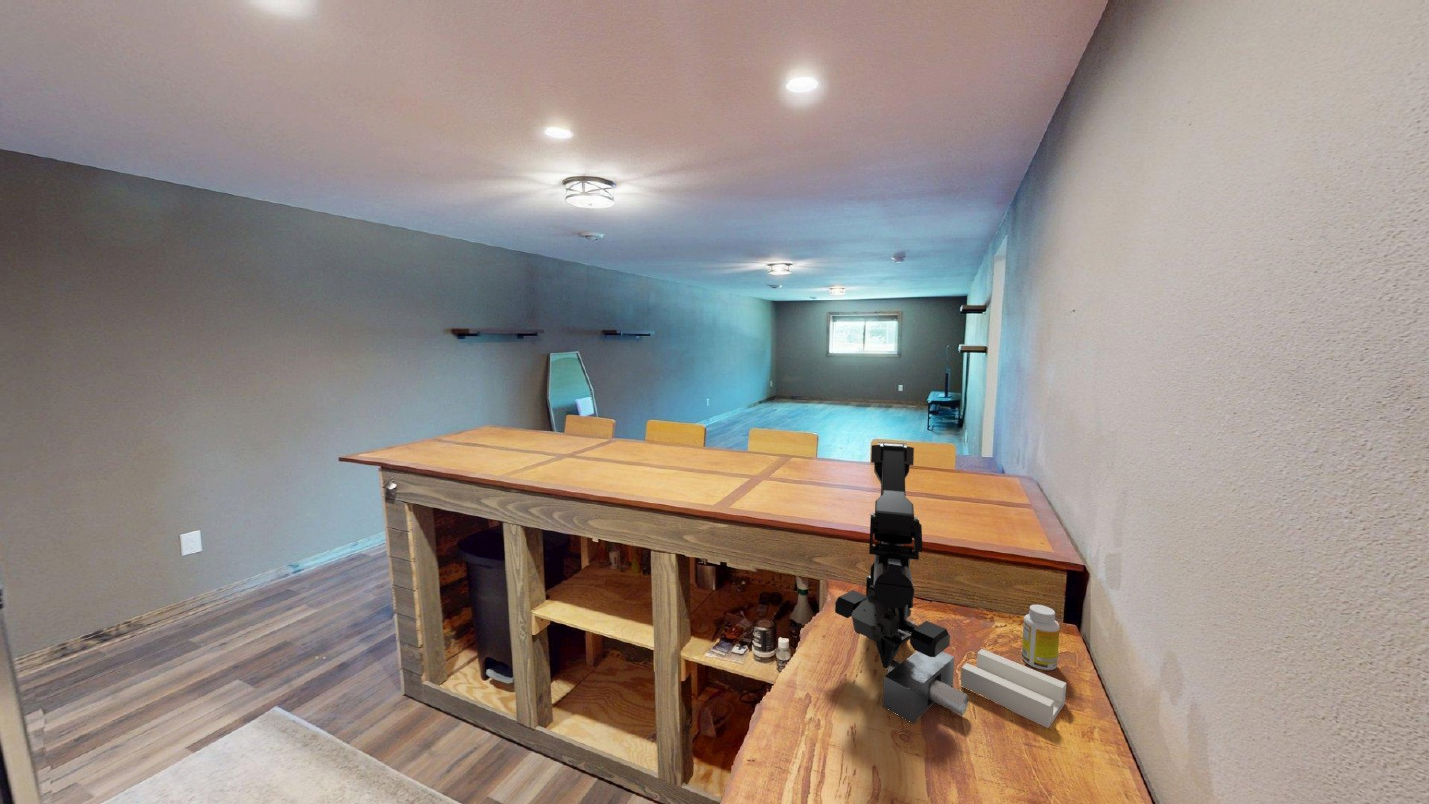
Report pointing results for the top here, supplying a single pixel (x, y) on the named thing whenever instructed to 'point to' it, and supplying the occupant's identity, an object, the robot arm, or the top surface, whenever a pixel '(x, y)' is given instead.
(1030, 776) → the top surface
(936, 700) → the axle
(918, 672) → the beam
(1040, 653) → the supplement bottle
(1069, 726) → the top surface
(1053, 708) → the cradle
